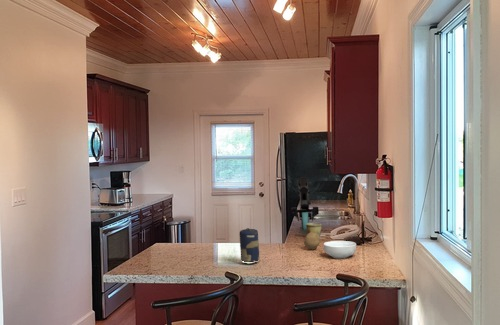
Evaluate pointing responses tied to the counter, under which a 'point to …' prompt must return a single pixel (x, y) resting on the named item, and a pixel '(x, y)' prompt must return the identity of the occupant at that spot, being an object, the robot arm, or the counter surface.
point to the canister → (249, 245)
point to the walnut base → (302, 233)
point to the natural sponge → (312, 241)
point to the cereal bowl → (340, 248)
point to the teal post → (305, 220)
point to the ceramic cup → (314, 228)
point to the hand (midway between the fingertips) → (305, 220)
